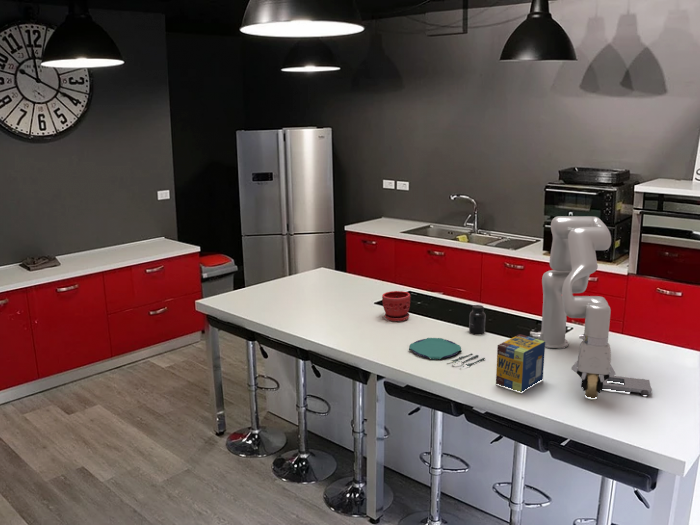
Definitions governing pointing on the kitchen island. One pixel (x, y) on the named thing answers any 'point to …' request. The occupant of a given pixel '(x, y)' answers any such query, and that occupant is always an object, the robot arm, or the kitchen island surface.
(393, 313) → the plant pot
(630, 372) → the kitchen island surface
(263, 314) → the kitchen island surface
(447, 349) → the cutlery set
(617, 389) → the hinged hasp latch
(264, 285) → the kitchen island surface
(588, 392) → the brass pin
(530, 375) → the protein box
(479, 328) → the supplement bottle
